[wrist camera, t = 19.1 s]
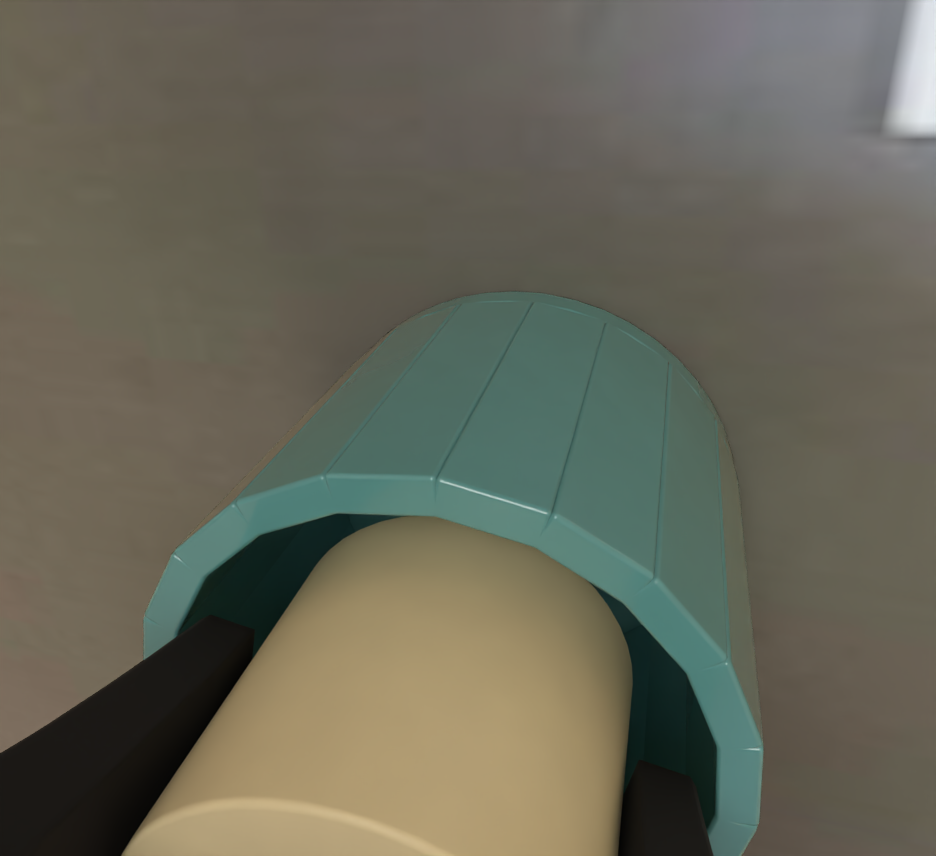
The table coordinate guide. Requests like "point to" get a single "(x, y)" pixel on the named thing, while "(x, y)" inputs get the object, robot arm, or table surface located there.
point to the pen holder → (523, 509)
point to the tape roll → (416, 712)
